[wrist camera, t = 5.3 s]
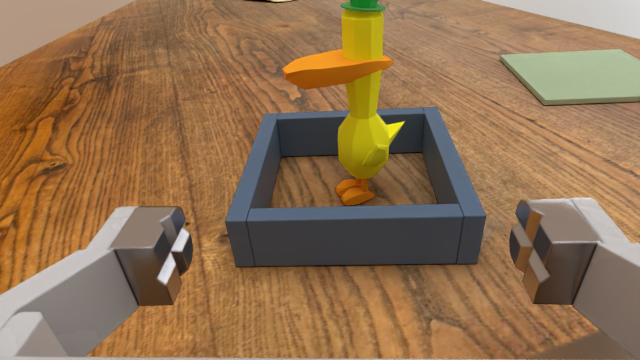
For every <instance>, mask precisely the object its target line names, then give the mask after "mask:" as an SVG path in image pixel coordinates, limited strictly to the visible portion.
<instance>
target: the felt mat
mask: <svg viewBox="0 0 640 360" xmlns="http://www.w3.org/2000/svg"><path fill="white" fill-rule="evenodd" d="M500 60H501V61H502V62H503V64H504V65H505V66H506V67H507V68H508V69H509V70H510V71H511V72H512V73H513V74H514V75H515V76H516V77H517V78H518V79H519V80H520V81H521V82H522V83H523V84H524V85H525V86H526V87H527V88H528V89H529V90H530V91H531V92H532V93H533V94H534V95H535V96H536V97H537V98H538V99H539V100H540V101H541V102H542V104H543V105H563V104H588V103H613V102H638V101H640V60H638V59H636V58H634V57H633V56H631V55H629V54H627V53H625V52H623V51H622V50H620V49H615V50H594V51H574V52H553V53H532V54H512V55H500Z"/></svg>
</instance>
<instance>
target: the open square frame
mask: <svg viewBox="0 0 640 360" xmlns="http://www.w3.org/2000/svg"><path fill="white" fill-rule="evenodd" d="M349 113H350V110H346V111H321V112H296V113H272V114H264V117H263V119H262V122H261V125H260V128H259V130H258V133H257V136H256V138H255V141H254V144H253V147H252V149H251V152H250V155H249V158H248V160H247V163H246V166H245V169H244V171H243V174H242V177H241V179H240V182H239V185H238V188H237V190H236V193H235V196H234V199H233V201H232V204H231V207H230V210H229V212H228V215H227V218H226V220H225V223H226V227H227V231H228V235H229V239H230V244H231V248H232V252H233V256H234V260H235V264H236V267H254V266H255V265H256V266H308V265H381V264H454V263H457V264H476V263H477V261H478V256H479V251H480V246H481V241H482V236H483V230H484V225H485V220H486V214H485V212H484V209H483V207H482V205H481V203H480V201H479V198H478V196H477V194H476V192H475V190H474V187H473V185H472V183H471V181H470V178H469V176H468V174H467V172H466V170H465V167H464V165H463V163H462V161H461V159H460V156H459V154H458V152H457V150H456V148H455V145H454V143H453V141H452V139H451V136H450V134H449V132H448V130H447V128H446V125H445V123H444V121H443V119H442V117H441V114H440V112H439V110H438V108H437V107H423V108H422V107H420V108H395V109H377V110H376V113H377V114H378V115H379V116H380V118H381V119H382V120H383V121H384V123H385V124H386V125H389V124H394V123H399V122H404V121H405V122H404V124H403V125H402V127H401V128H400V130H399V132H398V133H397V135H396V136H395V138H394V139H393V141H392V142H391V144H390V145H389V153H406V152H422V154H423V157H424V160H425V163H426V167H427V170H428V173H429V176H430V179H431V183H432V186H433V189H434V192H435V196H436V199H437V202H438V204H424V205H382V206H340V207H298V208H269V206H270V201H271V197H272V193H273V189H274V185H275V181H276V176H277V172H278V168H279V164H280V160H281V156H282V157H284V156H314V155H338V128H339V126H340V125H341V124H342V122H343V121H344V120H345V118H346V117H347V116H348V114H349Z"/></svg>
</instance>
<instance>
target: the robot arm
mask: <svg viewBox="0 0 640 360" xmlns="http://www.w3.org/2000/svg"><path fill="white" fill-rule="evenodd" d="M515 214H516V216H517V218H518V220H519V221H520V222H518V223H517V224H516V225H515V226H514V227H513V228H512V229H511V234H510V239H509V242H510V253H511V257H512V260H513V263H514V265H515V267H516V268H518V269H519V270H520V271H522V272H523V273H524V277H523V281H522V282H523V284H524V286H525V288H526V290H527V292H528V294H529V297H530V299H531V301H532V303H533V304H559V305H573V306H572V307H573V308H575V309H576V310H577V311H578V312H580V313H581V314H582V315H583V316H584V317H586V318H587V319H588V320H589V321H590V322H592V323H593V324H594V325H595V326H596V327H598V328H599V329H600V330H601V331H602V332H604V333H605V334H606V335H607V336H608V337H610V338H611V339H612V340H613V341H614V342H616V343H617V344H618V345H619V346H621V347H622V348H623V349H624V350H625V351H626V352H628V353H629V354H630V355H631V356H633V357H634V358H635V359H636V360H640V243H631V242H630V241H629V240H628V238H627V237H626V236H625V235H624V234H623V233H622V231H621V230H620V229H619V228H618V227H617V225H616V224H615V223H614V222H613V221H612V220H611V218H610V217H609V216H608V215H607V214H606V213H605V211H604V210H603V209H602V208H601V207H600V205H599V204H598V203H597V202H596V201H595V200H594V199H592V198H590V197H575V198H565V199H531V200H521V201H520V202H519V204H518V206H517V209H516V213H515ZM185 220H186V219H185V216H184V213H183V210H182V208H180V207H179V206H140V207H139V206H121V207H118V208H116V209H115V210H114V211H113V213H112V214H111V216H110V217H109V218H108V220H107V221H106V222H105V224H104V225H103V226H102V228H101V229H100V230H99V232H98V233H97V234H96V236H95V237H94V238H93V240H92V241H91V242H90V244H89V245H88V246H87V248H86V249H85V250H78V251H76V252H74V253H73V254H71V255H69V256H67V257H66V258H64V259H62V260H60V261H59V262H57V263H55V264H53V265H52V266H50V267H48V268H46V269H45V270H43V271H41V272H39V273H38V274H36V275H34V276H32V277H31V278H29V279H27V280H25V281H24V282H22V283H20V284H18V285H17V286H15V287H13V288H11V289H10V290H8V291H6V292H4V293H3V294H1V295H0V360H525V359H369V358H183V357H86V356H87V355H88V354H89V353H90V352H91V351H92V350H93V349H95V348H96V347H97V346H98V345H99V344H100V343H101V342H102V341H103V340H104V339H105V338H107V337H108V336H109V335H110V334H111V333H112V332H113V331H114V330H115V329H116V328H117V327H119V326H120V325H121V324H122V323H123V322H124V321H125V320H126V319H127V318H128V317H129V316H131V315H132V314H133V313H134V312H135V311H136V310H137V309H138V308H139V307H138V306H158V305H174V302H175V300H176V298H177V295H178V293H179V290H180V288H181V286H182V281H181V278H180V276H181V275H182V274H184V273H185V272H186V271H187V270H188V269H189V266H190V264H191V261H192V253H193V245H192V239H191V235H190V233H189V232H188V231H187V230H185V229H184V228H183V227H182V226H183V224H184V222H185Z"/></svg>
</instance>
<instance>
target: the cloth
mask: <svg viewBox="0 0 640 360" xmlns="http://www.w3.org/2000/svg"><path fill="white" fill-rule="evenodd" d="M268 1H273V2H285V1H293V0H268Z"/></svg>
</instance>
